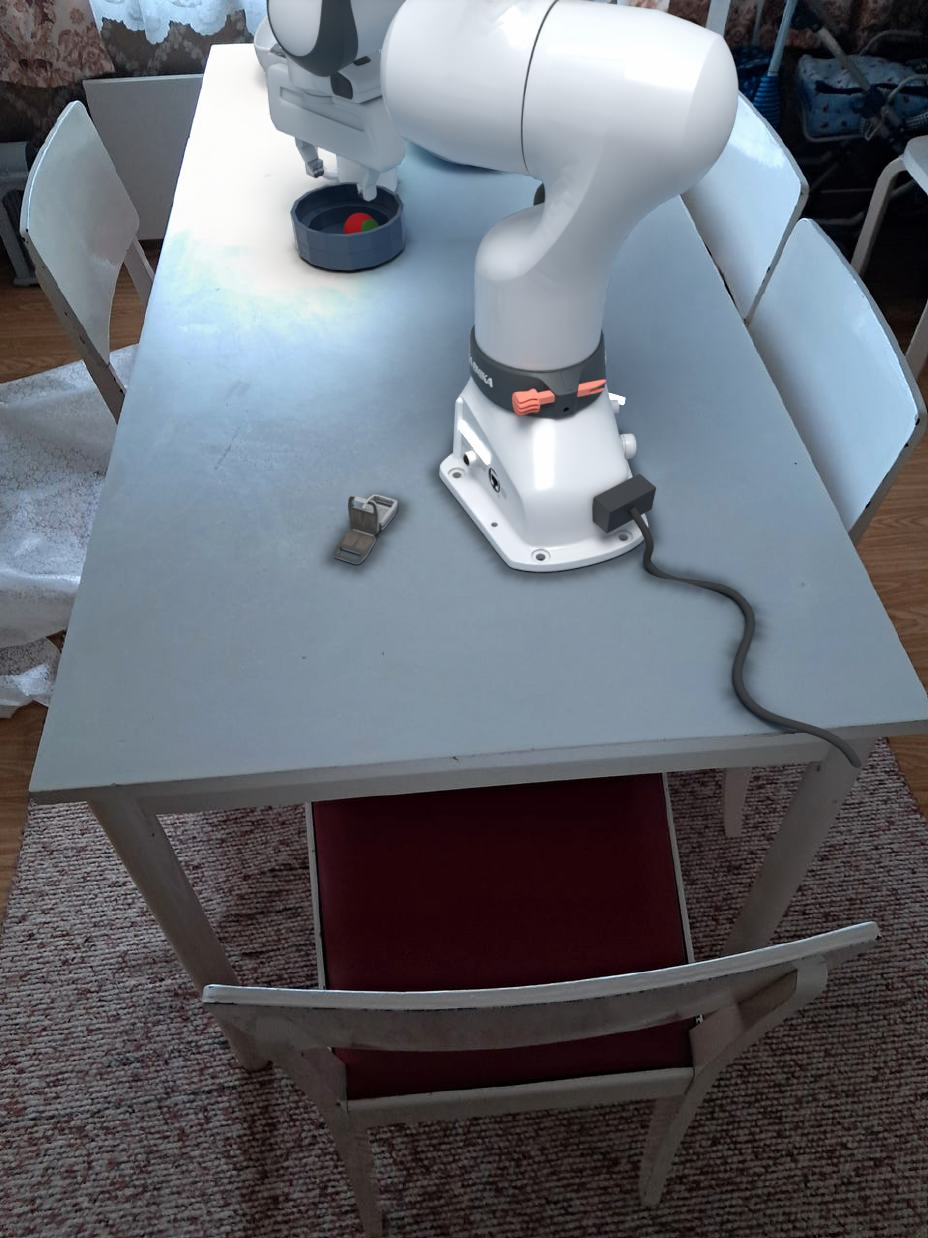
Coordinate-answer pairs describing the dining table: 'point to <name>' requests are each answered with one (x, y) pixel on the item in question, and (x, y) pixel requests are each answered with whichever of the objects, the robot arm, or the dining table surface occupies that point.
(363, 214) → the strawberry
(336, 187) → the bowl
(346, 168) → the mug
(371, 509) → the strap clip
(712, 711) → the dining table surface
